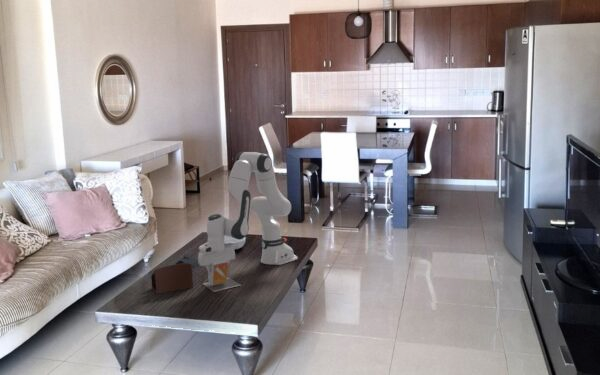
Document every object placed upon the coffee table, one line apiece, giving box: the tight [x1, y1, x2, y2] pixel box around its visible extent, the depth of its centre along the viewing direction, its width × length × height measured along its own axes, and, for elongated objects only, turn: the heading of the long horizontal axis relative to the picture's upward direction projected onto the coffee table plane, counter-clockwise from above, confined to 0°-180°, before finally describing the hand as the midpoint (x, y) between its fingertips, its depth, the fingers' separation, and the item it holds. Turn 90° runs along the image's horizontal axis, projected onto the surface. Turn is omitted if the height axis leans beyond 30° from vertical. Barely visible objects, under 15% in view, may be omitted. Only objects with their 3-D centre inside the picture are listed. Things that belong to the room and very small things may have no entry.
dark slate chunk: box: [175, 254, 200, 273], centre depth 343 cm, size 15×22×5 cm
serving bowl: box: [224, 236, 247, 251], centre depth 376 cm, size 21×21×7 cm
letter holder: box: [150, 263, 194, 295], centre depth 310 cm, size 10×20×14 cm, turn 117°
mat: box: [202, 277, 242, 293], centre depth 313 cm, size 16×14×1 cm
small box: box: [207, 259, 229, 286], centre depth 310 cm, size 8×6×13 cm
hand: (217, 270), depth 310 cm, fingers closed on small box, 8 cm apart
